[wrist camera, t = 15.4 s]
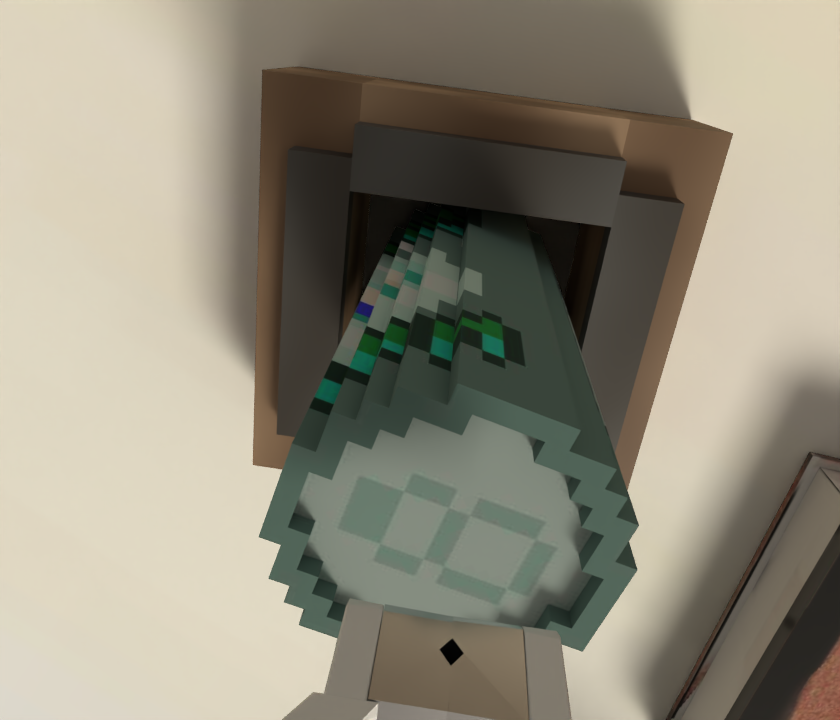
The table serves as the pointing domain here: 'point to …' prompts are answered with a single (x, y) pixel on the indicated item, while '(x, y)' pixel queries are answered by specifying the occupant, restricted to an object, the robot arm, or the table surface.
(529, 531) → the can
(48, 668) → the table surface
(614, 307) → the collar
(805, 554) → the book
